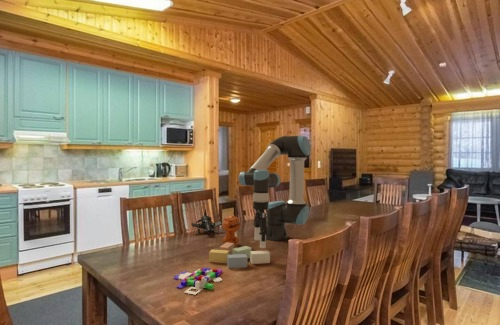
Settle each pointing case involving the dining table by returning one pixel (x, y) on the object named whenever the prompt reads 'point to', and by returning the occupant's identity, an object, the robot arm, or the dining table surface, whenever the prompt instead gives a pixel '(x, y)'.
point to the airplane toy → (206, 224)
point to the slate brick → (237, 261)
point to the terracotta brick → (227, 247)
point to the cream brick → (259, 257)
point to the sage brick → (242, 251)
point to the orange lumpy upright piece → (231, 229)
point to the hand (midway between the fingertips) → (259, 243)
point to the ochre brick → (218, 256)
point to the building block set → (199, 279)
